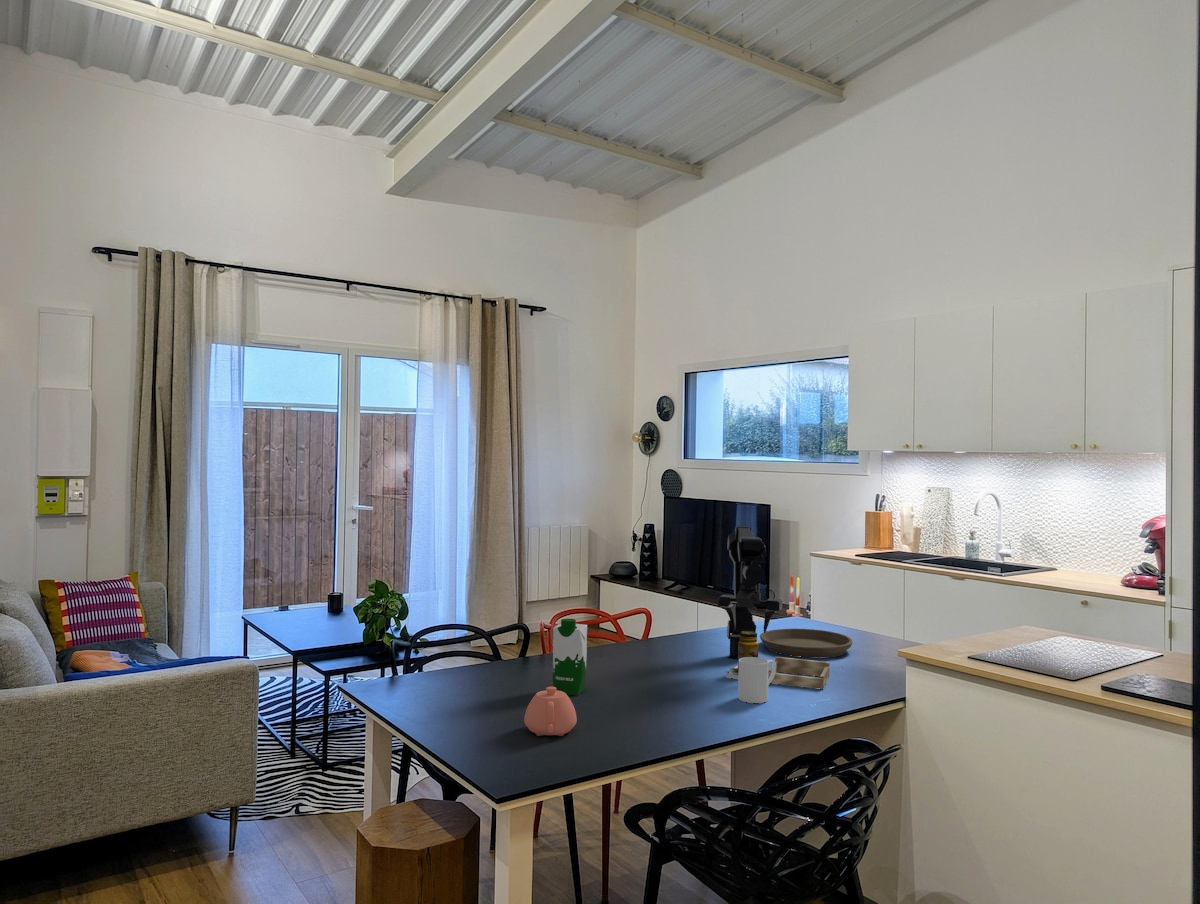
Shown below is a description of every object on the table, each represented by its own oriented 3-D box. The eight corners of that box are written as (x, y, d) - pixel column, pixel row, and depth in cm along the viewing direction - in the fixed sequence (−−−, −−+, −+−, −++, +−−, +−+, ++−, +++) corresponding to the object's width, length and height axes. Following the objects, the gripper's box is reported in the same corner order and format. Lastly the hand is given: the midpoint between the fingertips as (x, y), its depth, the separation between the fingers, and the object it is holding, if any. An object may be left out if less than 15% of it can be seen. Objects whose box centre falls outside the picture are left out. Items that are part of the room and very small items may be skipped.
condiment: (762, 675, 243) (762, 634, 243) (734, 675, 242) (735, 634, 242) (754, 668, 250) (755, 629, 250) (727, 669, 249) (728, 629, 249)
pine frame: (766, 683, 236) (766, 667, 236) (775, 671, 250) (775, 656, 250) (823, 689, 230) (823, 673, 230) (829, 677, 244) (829, 662, 244)
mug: (753, 705, 214) (753, 665, 214) (732, 698, 220) (732, 659, 220) (785, 698, 221) (785, 659, 221) (763, 691, 227) (764, 654, 227)
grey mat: (726, 677, 241) (726, 675, 241) (736, 667, 254) (736, 665, 254) (759, 681, 237) (759, 679, 237) (768, 670, 250) (768, 668, 250)
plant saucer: (755, 655, 271) (755, 642, 271) (764, 637, 301) (764, 624, 301) (852, 664, 262) (852, 650, 262) (852, 644, 291) (852, 631, 292)
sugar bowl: (576, 723, 197) (577, 680, 197) (576, 743, 183) (577, 697, 183) (525, 722, 196) (526, 680, 197) (522, 742, 182) (522, 696, 183)
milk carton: (549, 694, 221) (550, 620, 221) (559, 685, 230) (560, 614, 230) (579, 697, 218) (581, 622, 219) (589, 688, 227) (590, 616, 227)
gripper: (713, 580, 243) (712, 633, 242) (776, 585, 236) (775, 639, 235) (722, 576, 253) (721, 626, 253) (783, 580, 246) (782, 632, 246)
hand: (749, 631), depth 246 cm, fingers open, 9 cm apart
